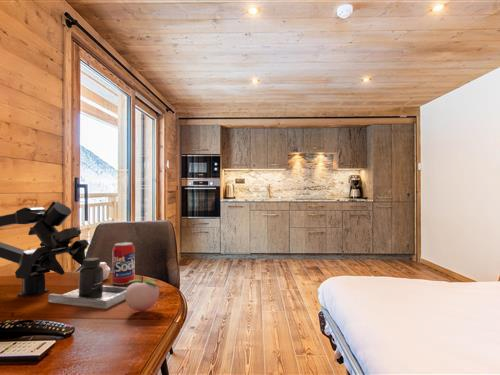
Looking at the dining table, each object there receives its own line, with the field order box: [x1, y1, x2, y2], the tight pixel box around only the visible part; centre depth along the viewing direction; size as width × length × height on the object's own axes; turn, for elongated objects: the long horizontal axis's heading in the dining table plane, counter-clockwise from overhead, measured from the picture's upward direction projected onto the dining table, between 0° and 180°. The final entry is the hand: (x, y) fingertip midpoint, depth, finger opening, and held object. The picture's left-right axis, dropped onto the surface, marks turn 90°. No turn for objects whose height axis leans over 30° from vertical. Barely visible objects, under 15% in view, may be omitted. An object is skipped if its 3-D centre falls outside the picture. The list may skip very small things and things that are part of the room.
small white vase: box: [99, 261, 111, 281], centre depth 117 cm, size 6×6×7 cm
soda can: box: [111, 242, 136, 286], centre depth 112 cm, size 8×8×15 cm
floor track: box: [48, 283, 128, 310], centre depth 95 cm, size 22×12×2 cm, turn 74°
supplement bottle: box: [78, 257, 104, 298], centre depth 94 cm, size 7×7×12 cm
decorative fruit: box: [125, 276, 160, 313], centre depth 83 cm, size 9×8×10 cm
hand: (75, 270), depth 96 cm, fingers open, 9 cm apart
